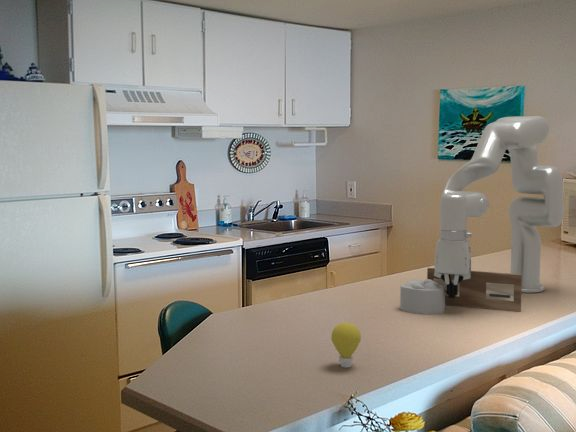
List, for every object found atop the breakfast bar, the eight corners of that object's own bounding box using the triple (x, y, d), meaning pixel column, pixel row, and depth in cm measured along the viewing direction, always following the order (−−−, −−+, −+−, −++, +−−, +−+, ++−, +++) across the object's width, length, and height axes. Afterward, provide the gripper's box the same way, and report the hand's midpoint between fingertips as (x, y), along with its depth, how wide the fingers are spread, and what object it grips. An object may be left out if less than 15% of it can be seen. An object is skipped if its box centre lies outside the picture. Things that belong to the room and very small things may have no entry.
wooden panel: (427, 302, 219) (428, 267, 218) (520, 310, 207) (521, 274, 206) (426, 303, 217) (427, 268, 216) (520, 311, 206) (521, 275, 205)
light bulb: (329, 361, 161) (329, 319, 160) (357, 360, 161) (357, 318, 160) (333, 371, 154) (333, 327, 153) (363, 370, 155) (363, 326, 154)
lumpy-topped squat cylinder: (412, 303, 217) (412, 276, 216) (451, 309, 209) (451, 281, 209) (396, 309, 209) (396, 281, 208) (436, 316, 201) (436, 286, 200)
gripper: (481, 235, 203) (479, 296, 205) (430, 233, 209) (429, 292, 211) (477, 238, 196) (475, 302, 198) (424, 236, 202) (424, 297, 204)
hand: (451, 297), depth 205 cm, fingers closed
